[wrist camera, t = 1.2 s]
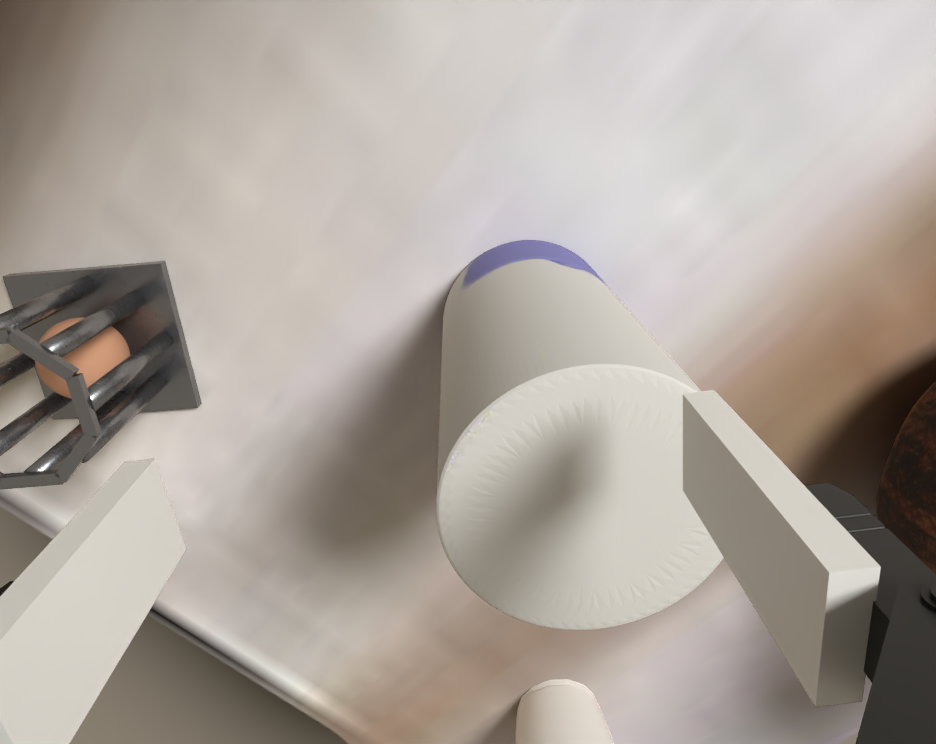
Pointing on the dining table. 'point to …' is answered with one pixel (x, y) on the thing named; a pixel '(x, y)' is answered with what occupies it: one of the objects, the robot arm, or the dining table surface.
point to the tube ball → (86, 356)
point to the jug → (913, 482)
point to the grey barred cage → (104, 305)
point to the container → (562, 447)
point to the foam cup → (560, 715)
